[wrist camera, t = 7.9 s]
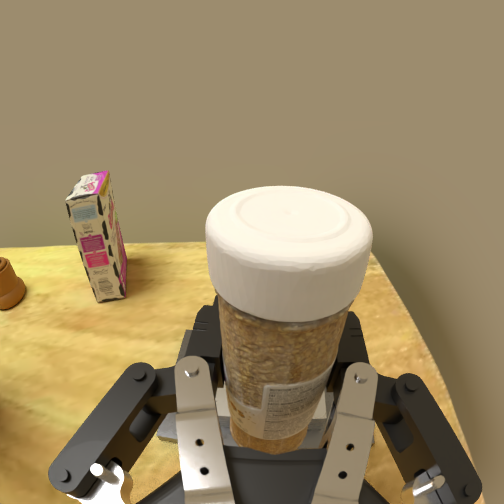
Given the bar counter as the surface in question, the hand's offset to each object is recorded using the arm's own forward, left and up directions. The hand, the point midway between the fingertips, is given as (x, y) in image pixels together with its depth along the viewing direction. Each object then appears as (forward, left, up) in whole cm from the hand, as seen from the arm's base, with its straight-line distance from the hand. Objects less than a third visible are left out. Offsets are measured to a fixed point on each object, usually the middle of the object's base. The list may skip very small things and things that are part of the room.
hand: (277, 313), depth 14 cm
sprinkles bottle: (0, -3, -7) cm, 8 cm away
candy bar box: (-25, +23, -18) cm, 38 cm away
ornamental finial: (-45, +15, -18) cm, 51 cm away
